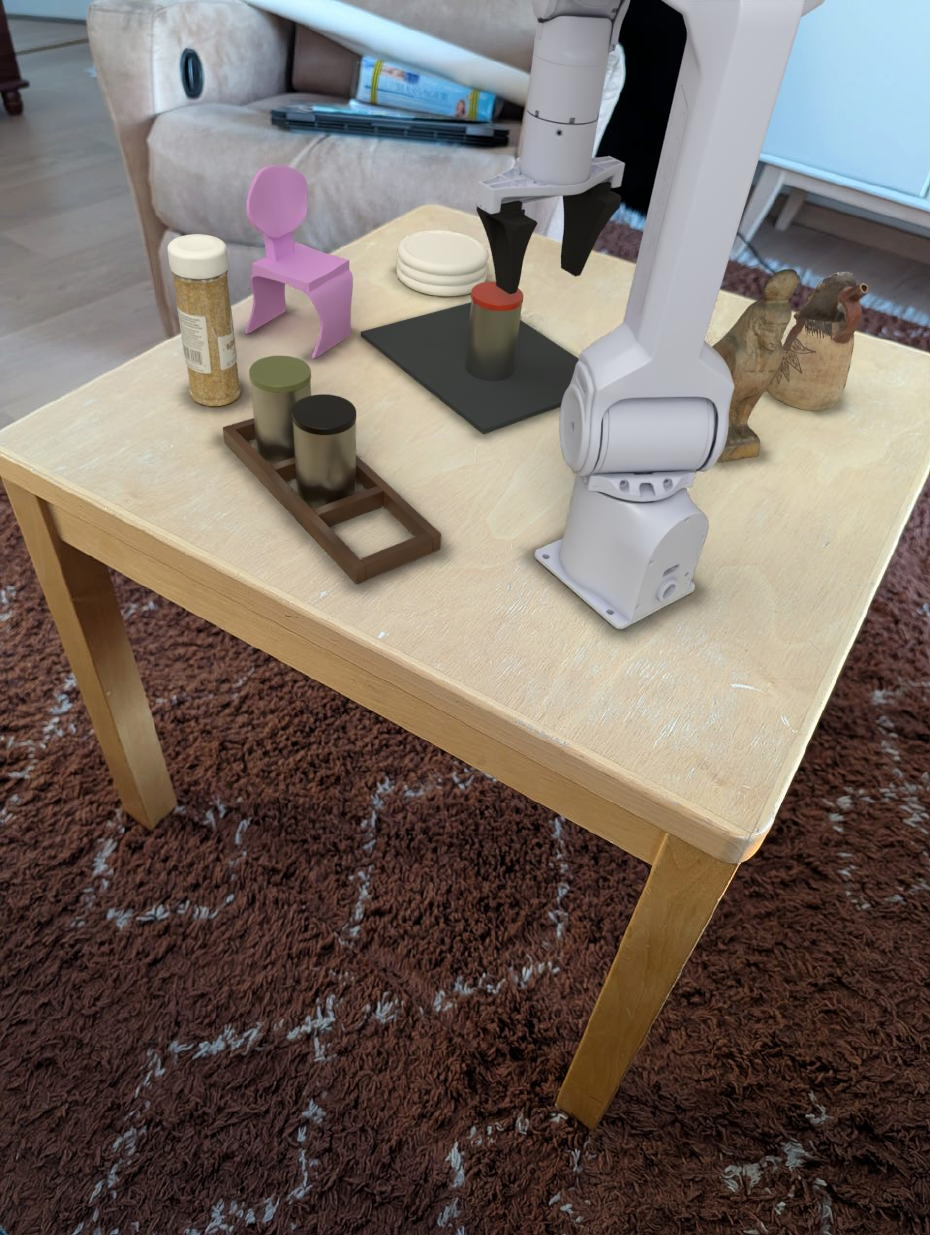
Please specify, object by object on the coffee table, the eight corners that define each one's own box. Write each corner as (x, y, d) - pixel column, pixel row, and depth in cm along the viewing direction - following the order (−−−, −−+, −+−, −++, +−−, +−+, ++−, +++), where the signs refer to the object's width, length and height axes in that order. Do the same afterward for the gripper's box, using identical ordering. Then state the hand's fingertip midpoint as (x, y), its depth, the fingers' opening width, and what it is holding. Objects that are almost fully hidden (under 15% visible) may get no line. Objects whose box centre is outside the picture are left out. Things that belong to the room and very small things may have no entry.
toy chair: (312, 365, 86) (305, 201, 76) (237, 337, 89) (221, 175, 79) (361, 331, 92) (362, 174, 81) (290, 306, 95) (281, 150, 84)
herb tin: (324, 457, 76) (322, 376, 71) (273, 474, 74) (267, 392, 69) (296, 430, 79) (292, 349, 73) (246, 445, 76) (238, 364, 71)
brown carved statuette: (750, 477, 83) (849, 314, 69) (696, 482, 82) (785, 316, 67) (701, 387, 90) (782, 218, 75) (650, 390, 88) (722, 219, 73)
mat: (614, 387, 88) (615, 382, 88) (483, 434, 81) (483, 429, 80) (487, 302, 99) (487, 297, 99) (360, 336, 91) (360, 331, 91)
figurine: (812, 371, 94) (856, 254, 85) (853, 408, 89) (904, 288, 81) (751, 377, 92) (791, 258, 83) (790, 415, 87) (836, 293, 79)
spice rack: (440, 549, 69) (441, 534, 68) (356, 584, 65) (356, 568, 64) (302, 418, 80) (301, 403, 79) (223, 442, 77) (222, 427, 75)
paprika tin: (523, 373, 88) (534, 298, 82) (485, 385, 85) (493, 309, 80) (493, 351, 90) (501, 277, 85) (455, 363, 88) (461, 287, 83)
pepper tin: (368, 499, 73) (368, 417, 67) (315, 518, 70) (312, 435, 65) (336, 469, 75) (335, 387, 70) (285, 487, 73) (279, 404, 68)
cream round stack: (432, 251, 107) (434, 220, 105) (503, 278, 103) (507, 247, 101) (377, 277, 101) (378, 245, 98) (450, 307, 97) (453, 275, 95)
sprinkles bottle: (250, 400, 81) (235, 250, 72) (200, 413, 79) (179, 259, 70) (229, 376, 84) (212, 228, 75) (180, 388, 82) (157, 236, 73)
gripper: (594, 89, 78) (569, 248, 88) (458, 108, 71) (447, 278, 81) (654, 114, 74) (620, 277, 84) (516, 137, 67) (497, 312, 77)
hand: (539, 280), depth 82 cm, fingers open, 7 cm apart
